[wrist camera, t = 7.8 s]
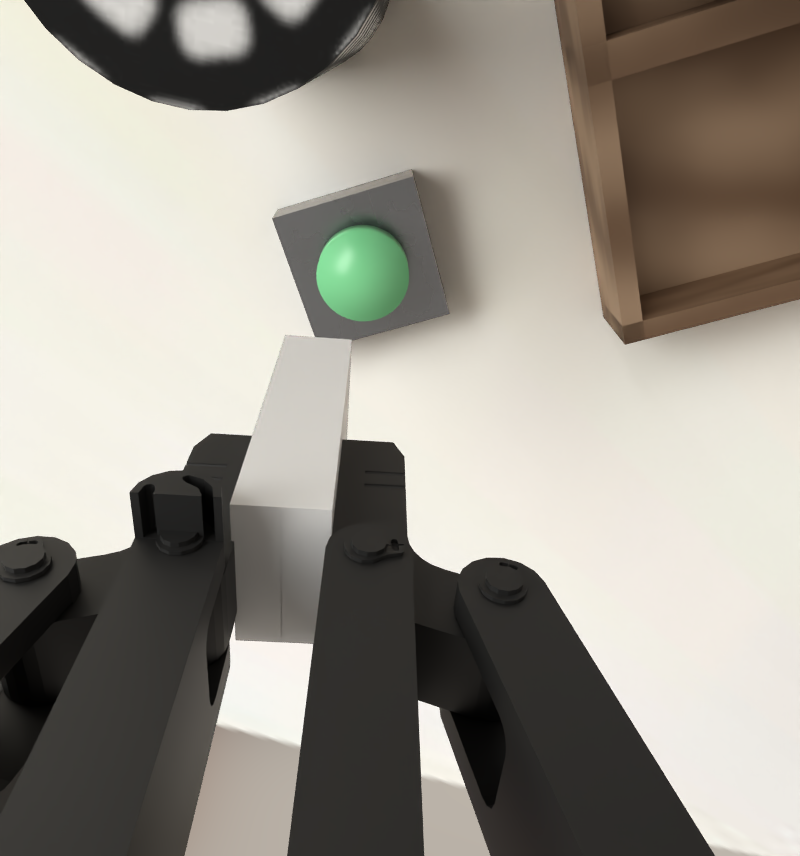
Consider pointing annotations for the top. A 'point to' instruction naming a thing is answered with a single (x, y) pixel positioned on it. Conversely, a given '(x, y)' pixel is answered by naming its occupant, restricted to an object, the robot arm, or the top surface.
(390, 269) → the button
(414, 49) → the top surface
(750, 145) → the divided wooden tray
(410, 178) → the button housing
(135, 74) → the spotted tube
